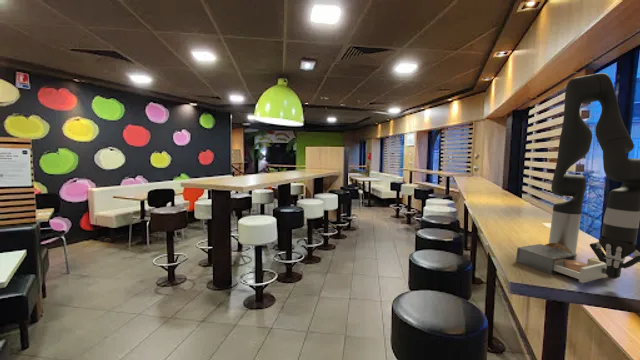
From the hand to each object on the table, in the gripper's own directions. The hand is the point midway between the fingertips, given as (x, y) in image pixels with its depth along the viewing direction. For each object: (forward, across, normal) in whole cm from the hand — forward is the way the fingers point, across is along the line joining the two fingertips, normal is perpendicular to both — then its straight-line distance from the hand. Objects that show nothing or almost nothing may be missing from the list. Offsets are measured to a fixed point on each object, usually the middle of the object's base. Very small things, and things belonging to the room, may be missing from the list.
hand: (612, 277), depth 91 cm
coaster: (+1, +9, 0) cm, 9 cm away
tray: (+2, +9, 0) cm, 10 cm away
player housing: (+4, +19, 0) cm, 19 cm away
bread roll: (+4, +22, -13) cm, 26 cm away
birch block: (+4, +7, -10) cm, 13 cm away
